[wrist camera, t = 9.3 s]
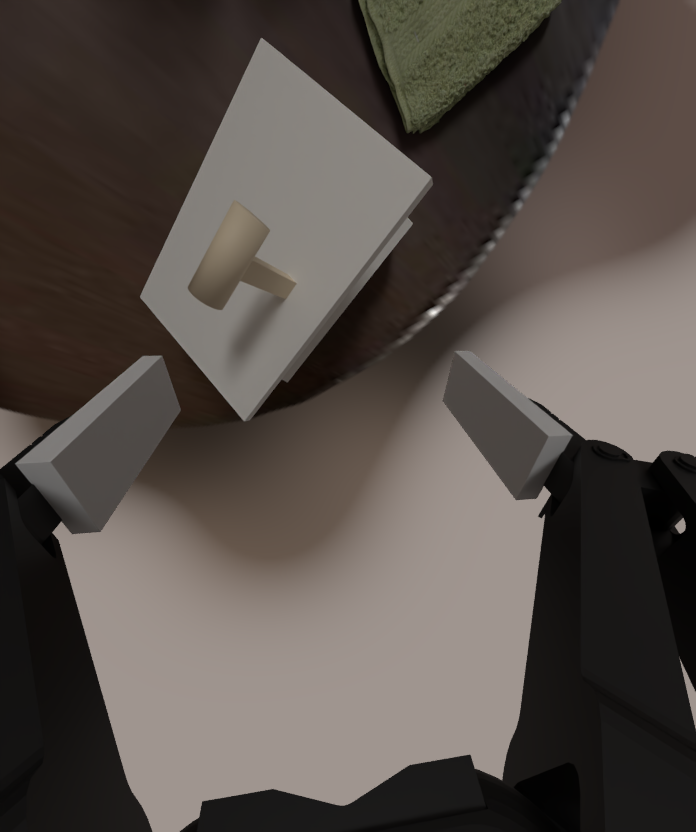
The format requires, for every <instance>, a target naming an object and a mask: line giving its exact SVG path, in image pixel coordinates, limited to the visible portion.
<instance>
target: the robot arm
mask: <svg viewBox="0 0 696 832" xmlns="http://www.w3.org/2000/svg"><path fill="white" fill-rule="evenodd" d="M443 402H444V403H445V405H446V406H447V407H448V408H449V410H450V411H451V413H452V414H453V415H454V417H455V418H456V419H457V421H458V422H459V423H460V425H461V426H462V428H463V429H464V430H465V432H466V433H467V434H468V436H469V437H470V438H471V440H472V441H473V442H474V444H475V445H476V446H477V448H478V449H479V451H480V452H481V453H482V455H483V456H484V457H485V459H486V460H487V461H488V463H489V464H490V465H491V467H492V468H493V469H494V471H495V472H496V473H497V475H498V476H499V478H500V479H501V480H502V482H503V483H504V484H505V486H506V487H507V488H508V490H509V491H510V493H511V494H512V495H513V497H514V498H515V499H516V500H523V499H536V498H537V497H538V495H539V493H540V492H541V490H542V488H543V486H545V487H546V488H547V489H548V491H549V492H550V493H551V496H550V497H549V499H548V500H547V502H546V504H545V505H544V507H543V509H542V511H541V512H540V514H539V517H540V518H542V517H543V515H544V514H545V521H544V529H543V537H542V544H541V552H540V560H539V568H538V576H537V584H536V591H535V600H534V607H533V615H532V623H531V631H530V639H529V647H528V655H527V662H526V670H525V678H524V686H523V694H522V702H521V710H520V716H519V721H518V725H517V728H516V730H515V733H514V735H513V738H512V740H511V742H510V745H509V749H508V752H507V756H506V761H505V766H504V772H503V780H500V779H498V778H496V777H494V776H492V775H489V774H487V773H485V772H482V771H480V770H477V769H474V765H473V762H472V759H471V755H466V756H460V757H454V758H449V759H442V760H437V761H431V762H425V763H420V764H414V765H409V766H408V767H406V768H405V769H403V770H401V771H400V772H399V773H397V774H395V775H394V776H392V777H391V778H389V779H388V780H386V781H385V782H383V783H382V784H380V785H378V786H377V787H376V788H374V789H372V790H371V791H369V792H368V793H366V794H365V795H363V796H361V797H360V798H358V799H357V800H355V801H354V802H352V803H350V804H348V805H345V806H339V805H334V804H330V803H326V802H322V801H318V800H314V799H310V798H306V797H302V796H298V795H294V794H290V793H286V792H282V791H278V790H274V789H271V790H265V791H260V792H254V793H248V794H243V795H238V796H231V797H226V798H220V799H214V800H208V801H203V802H202V806H201V811H200V817H199V818H198V819H196V820H195V821H193V822H192V823H190V824H189V825H188V826H186V827H185V828H184V829H183V830H181V831H180V832H696V729H695V725H694V720H693V716H692V712H691V707H690V703H689V698H688V694H687V690H686V685H685V681H684V677H683V672H682V668H681V663H680V659H681V662H682V664H683V666H684V668H685V670H686V672H687V674H688V676H689V679H690V681H691V683H692V685H693V687H694V689H695V691H696V457H694V456H692V455H690V454H684V453H680V452H675V451H664V452H661V453H660V455H659V456H658V457H657V458H656V459H655V461H654V462H653V463H650V462H644V461H638V460H633V458H632V456H630V455H629V454H628V453H627V452H625V451H624V450H622V449H620V448H619V447H617V446H615V445H612V444H609V443H607V442H603V441H598V440H585V439H584V438H583V437H581V436H580V435H579V434H578V433H576V432H575V431H574V430H573V429H571V428H570V427H569V426H568V425H566V424H565V423H564V422H562V421H561V420H559V419H558V417H556V416H555V415H554V414H551V412H550V411H549V410H547V409H546V408H545V407H544V406H542V405H541V404H539V403H537V402H535V401H533V400H531V399H529V398H527V397H526V396H524V395H523V394H522V393H520V392H519V391H518V390H517V389H516V388H515V387H513V386H512V385H511V384H510V383H509V382H507V381H506V380H505V379H504V378H502V377H501V376H500V375H499V374H498V373H496V372H495V371H494V370H493V369H492V368H490V367H489V366H488V365H487V364H485V363H484V362H483V361H482V360H480V359H479V358H478V357H477V356H476V355H474V354H473V353H472V352H471V351H455V352H454V357H453V360H452V365H451V369H450V373H449V377H448V381H447V385H446V390H445V394H444V398H443ZM180 410H181V409H180V407H179V404H178V401H177V398H176V395H175V392H174V389H173V386H172V383H171V380H170V377H169V374H168V371H167V369H166V366H165V363H164V360H163V357H162V356H143V357H141V358H140V359H139V360H138V361H137V362H135V363H134V364H133V365H132V366H131V367H130V368H128V369H127V370H126V371H125V372H124V373H122V374H121V375H120V376H119V377H118V378H116V379H115V380H114V381H113V382H112V383H111V384H109V385H108V386H107V387H106V388H105V389H103V390H102V391H101V392H100V393H99V394H97V395H96V396H95V397H94V398H93V399H91V400H90V401H89V402H88V403H87V404H86V405H84V406H83V407H82V408H81V409H80V410H78V411H77V412H76V413H75V414H74V415H72V416H70V417H68V418H66V419H64V420H62V421H60V422H59V423H57V424H55V425H54V426H52V427H51V428H50V429H49V430H47V431H46V432H45V433H44V434H43V436H42V437H39V438H38V439H36V440H35V441H34V442H33V443H32V445H30V446H28V447H27V448H26V449H24V450H23V451H22V452H21V453H19V454H18V455H17V456H16V457H15V458H13V459H12V460H11V461H10V462H8V463H7V464H6V465H5V466H3V467H2V468H1V469H0V832H152V829H151V827H150V824H149V821H148V819H147V816H146V814H145V812H144V810H143V808H142V806H141V805H140V803H139V802H138V800H137V799H136V797H135V796H134V795H133V793H132V791H131V789H130V787H129V785H128V782H127V780H126V776H125V773H124V770H123V766H122V762H121V759H120V756H119V752H118V748H117V745H116V741H115V738H114V734H113V731H112V727H111V723H110V720H109V717H108V713H107V709H106V706H105V702H104V699H103V695H102V692H101V689H100V685H99V681H98V678H97V674H96V671H95V667H94V664H93V660H92V657H91V653H90V649H89V646H88V643H87V639H86V636H85V632H84V628H83V625H82V621H81V618H80V614H79V611H78V607H77V604H76V600H75V597H74V594H73V590H72V586H71V583H70V579H69V576H68V572H67V568H66V565H65V562H64V558H63V555H62V551H61V547H60V544H59V540H58V539H57V538H56V537H55V536H54V535H53V533H52V532H53V531H54V529H55V528H56V527H57V526H58V525H59V523H60V522H61V521H62V522H63V523H64V525H65V526H66V527H67V528H68V529H69V531H70V532H71V533H72V534H77V533H91V532H101V530H102V529H103V527H104V526H105V524H106V523H107V521H108V520H109V518H110V516H111V515H112V514H113V512H114V511H115V509H116V508H117V506H118V504H119V503H120V501H121V500H122V498H123V497H124V495H125V494H126V492H127V491H128V489H129V488H130V486H131V485H132V483H133V482H134V480H135V479H136V477H137V476H138V474H139V473H140V471H141V470H142V468H143V466H144V465H145V464H146V462H147V460H148V459H149V457H150V456H151V454H152V453H153V451H154V450H155V448H156V447H157V445H158V444H159V442H160V441H161V439H162V438H163V436H164V435H165V433H166V432H167V430H168V429H169V427H170V426H171V424H172V423H173V421H174V420H175V418H176V416H177V415H178V413H179V412H180ZM682 518H684V520H685V523H686V529H685V531H684V532H683V533H681V534H680V533H679V532H678V531H677V529H676V528H675V525H676V524H677V523H678V522H679V521H680V520H681V519H682ZM679 657H680V659H679Z"/></svg>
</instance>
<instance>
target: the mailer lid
mask: <svg viewBox="0 0 696 832" xmlns="http://www.w3.org/2000/svg"><path fill="white" fill-rule="evenodd" d="M432 185H433V182H432V177H431V176H429V175H428V174H427V173H426V172H425V171H423V170H422V169H421V168H420V167H419V166H417V165H416V164H415V163H414V162H412V161H411V160H410V159H409V158H408V157H406V156H405V155H404V154H403V153H401V152H400V151H399V150H398V149H397V148H395V147H394V146H393V145H392V144H390V143H389V142H388V141H387V140H386V139H384V138H383V137H382V136H381V135H380V134H378V133H377V132H376V131H375V130H373V129H372V128H371V127H370V126H369V125H367V124H366V123H365V122H364V121H362V120H361V119H360V118H359V117H358V116H356V115H355V114H354V113H353V112H352V111H350V110H349V109H348V108H347V107H345V106H344V105H343V104H342V103H341V102H339V101H338V100H337V99H336V98H334V97H333V96H332V95H331V94H330V93H328V92H327V91H326V90H325V89H324V88H322V87H321V86H320V85H319V84H317V83H316V82H315V81H314V80H313V79H311V78H310V77H309V76H308V75H306V74H305V73H304V72H303V71H302V70H300V69H299V68H298V67H297V66H296V65H294V64H293V63H292V62H291V61H289V60H288V59H287V58H286V57H285V56H283V55H282V54H281V53H280V52H278V51H277V50H276V49H275V48H274V47H272V46H271V45H270V44H269V43H267V42H266V41H265V40H264V39H263V38H261V39H260V42H259V44H258V46H257V48H256V50H255V52H254V54H253V56H252V59H251V61H250V63H249V65H248V67H247V69H246V71H245V74H244V76H243V78H242V80H241V82H240V84H239V86H238V89H237V91H236V93H235V95H234V97H233V99H232V101H231V103H230V106H229V108H228V110H227V112H226V114H225V116H224V118H223V121H222V123H221V125H220V127H219V129H218V131H217V133H216V135H215V138H214V140H213V142H212V144H211V146H210V148H209V150H208V153H207V155H206V157H205V159H204V161H203V163H202V165H201V168H200V170H199V172H198V174H197V176H196V178H195V180H194V182H193V185H192V187H191V189H190V191H189V193H188V195H187V197H186V200H185V202H184V204H183V206H182V208H181V210H180V212H179V215H178V217H177V219H176V221H175V223H174V225H173V227H172V229H171V232H170V234H169V236H168V238H167V240H166V242H165V244H164V247H163V249H162V251H161V253H160V255H159V257H158V259H157V262H156V264H155V266H154V268H153V270H152V272H151V274H150V276H149V279H148V281H147V283H146V285H145V287H144V289H143V291H142V294H141V296H140V298H141V299H142V300H143V301H144V302H145V304H146V305H147V306H148V307H149V308H150V310H151V311H152V312H153V313H154V314H155V315H156V317H157V318H158V319H159V320H160V321H161V323H162V324H163V325H164V326H165V327H166V329H167V330H168V331H169V332H170V333H171V335H172V336H173V337H174V338H175V339H176V341H177V342H178V343H179V344H180V345H181V347H182V348H183V349H184V350H185V351H186V353H187V354H188V355H189V356H190V357H191V358H192V360H193V361H194V362H195V363H196V364H197V366H198V367H199V368H200V369H201V370H202V372H203V373H204V374H205V375H206V376H207V378H208V379H209V380H210V381H211V382H212V384H213V385H214V386H215V387H216V388H217V390H218V391H219V392H220V393H221V394H222V395H223V397H224V398H225V399H226V400H227V401H228V403H229V404H230V405H231V406H232V407H233V409H234V410H235V411H236V412H237V413H238V415H239V416H240V417H241V418H242V419H243V421H249V420H251V418H252V417H253V416H254V414H255V413H256V412H257V411H258V409H259V408H260V407H261V405H262V404H263V403H264V401H265V400H266V399H267V398H268V396H269V395H270V394H271V392H272V391H273V390H274V389H275V387H276V386H277V385H278V383H279V382H280V381H281V380H282V378H283V377H284V376H285V374H286V373H287V372H288V371H289V369H290V368H291V367H292V365H293V364H294V363H295V362H296V360H297V359H298V358H299V356H300V355H301V354H302V353H303V351H304V350H305V349H306V347H307V346H308V345H309V344H310V342H311V341H312V340H313V338H314V337H315V336H316V334H317V333H318V332H319V331H320V329H321V328H322V327H323V325H324V324H325V323H326V322H327V320H328V319H329V318H330V316H331V315H332V314H333V313H334V311H335V310H336V309H337V307H338V306H339V305H340V304H341V302H342V301H343V300H344V298H345V297H346V296H347V295H348V293H349V292H350V291H351V289H352V288H353V287H354V286H355V284H356V283H357V282H358V280H359V279H360V278H361V277H362V275H363V274H364V273H365V271H366V270H367V269H368V268H369V266H370V265H371V264H372V262H373V261H374V260H375V258H376V257H377V256H378V255H379V253H380V252H381V251H382V249H383V248H384V247H385V246H386V244H387V243H388V242H389V240H390V239H391V238H392V237H393V235H394V234H395V233H396V231H397V230H398V229H399V228H400V226H401V225H402V224H403V222H404V221H405V220H406V219H407V217H408V216H409V215H410V213H411V212H412V211H413V210H414V208H415V207H416V206H417V204H418V203H419V202H420V201H421V199H422V198H423V197H424V195H425V194H426V193H427V191H428V190H429V189H430V188H431V186H432Z"/></svg>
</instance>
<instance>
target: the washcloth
mask: <svg viewBox="0 0 696 832" xmlns="http://www.w3.org/2000/svg"><path fill="white" fill-rule="evenodd" d="M358 1H359V4H360V8H361V10H362V13H363V16H364V19H365V22H366V26H367V30H368V33H369V36H370V40H371V44H372V46H373V49H374V53H375V56H376V58H377V62H378V65H379V67H380V69H381V71H382V73H383V75H384V77H385V79H386V81H387V82H388V83H389V86H390V89H391V92H392V94H393V97H394V99H395V102H396V104H397V107H398V109H399V112H400V114H401V117H402V120H403V124H404V127H405V131H406V132H407V133H409V132H411V131H413V134H414V133H415V132H416V131H417V130H419V133H422V132H423V131H425V130H426V131H427V129H430V128H431V127H432V126H433V125H434V124H436V123H437V122H438V123H439V119H440V118H441V117H442V115H443V114H445V113H446V111H449V110H451V108H452V107H453V106H454V105H455V104H456V103H457V102H458V101H459V100H461V99H462V97H463V96H465V95H466V93H467V92H468V91H470V90H471V89H473V87H474V86H475V85H476V84H478V83H479V82H480V81H482V80H483V79H484V77H485V76H486V75H488V74H489V73H490V71H491V70H494V69H495V68H496V67H497V65H498V64H500V63H501V61H502V60H503V58H505V57H507V56H508V55H509V54H510V53H511V52H512V51H514V50H515V49H516V48H517V47H518V46H519V45H520V44H521V42H522V41H523V42H524V41H525V40H526V39H527V38H528V36H529V35H530V34H531V33H532V32H533V31H534V30H535V29H537V28H538V27H539V26H540V24H541V22H542V21H543V20H544V19H545V18H547V17H549V16H550V12H551V11H553V10H554V9H555V8H556V7H557V6H559V4H560V3H561V1H562V0H358Z"/></svg>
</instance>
